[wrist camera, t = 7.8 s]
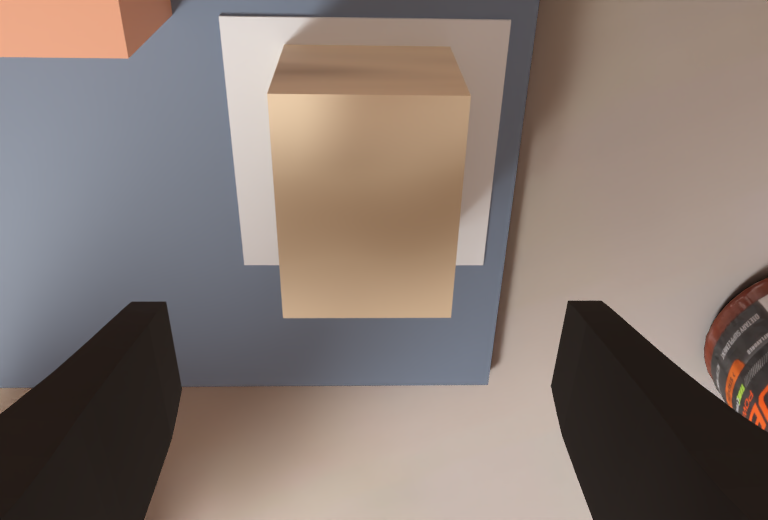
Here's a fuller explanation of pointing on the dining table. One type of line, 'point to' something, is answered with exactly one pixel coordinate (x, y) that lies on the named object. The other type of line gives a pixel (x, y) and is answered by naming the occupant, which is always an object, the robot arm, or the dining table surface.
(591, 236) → the dining table surface
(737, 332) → the supplement bottle
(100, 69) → the slate board
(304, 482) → the dining table surface
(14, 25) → the terracotta brick
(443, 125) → the oak brick
